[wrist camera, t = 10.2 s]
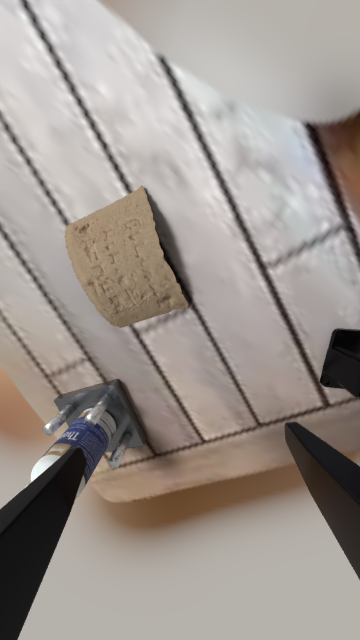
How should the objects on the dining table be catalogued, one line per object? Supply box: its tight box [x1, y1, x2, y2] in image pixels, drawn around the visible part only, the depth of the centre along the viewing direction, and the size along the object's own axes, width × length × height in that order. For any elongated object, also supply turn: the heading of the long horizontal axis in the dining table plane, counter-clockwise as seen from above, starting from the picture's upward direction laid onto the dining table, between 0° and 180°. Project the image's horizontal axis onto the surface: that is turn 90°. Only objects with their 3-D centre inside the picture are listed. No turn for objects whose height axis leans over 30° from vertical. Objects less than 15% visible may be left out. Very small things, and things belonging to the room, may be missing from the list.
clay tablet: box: [65, 186, 188, 328], centre depth 18 cm, size 14×10×3 cm
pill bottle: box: [26, 408, 116, 499], centre depth 19 cm, size 5×5×10 cm
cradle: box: [43, 379, 147, 468], centre depth 22 cm, size 10×10×5 cm
